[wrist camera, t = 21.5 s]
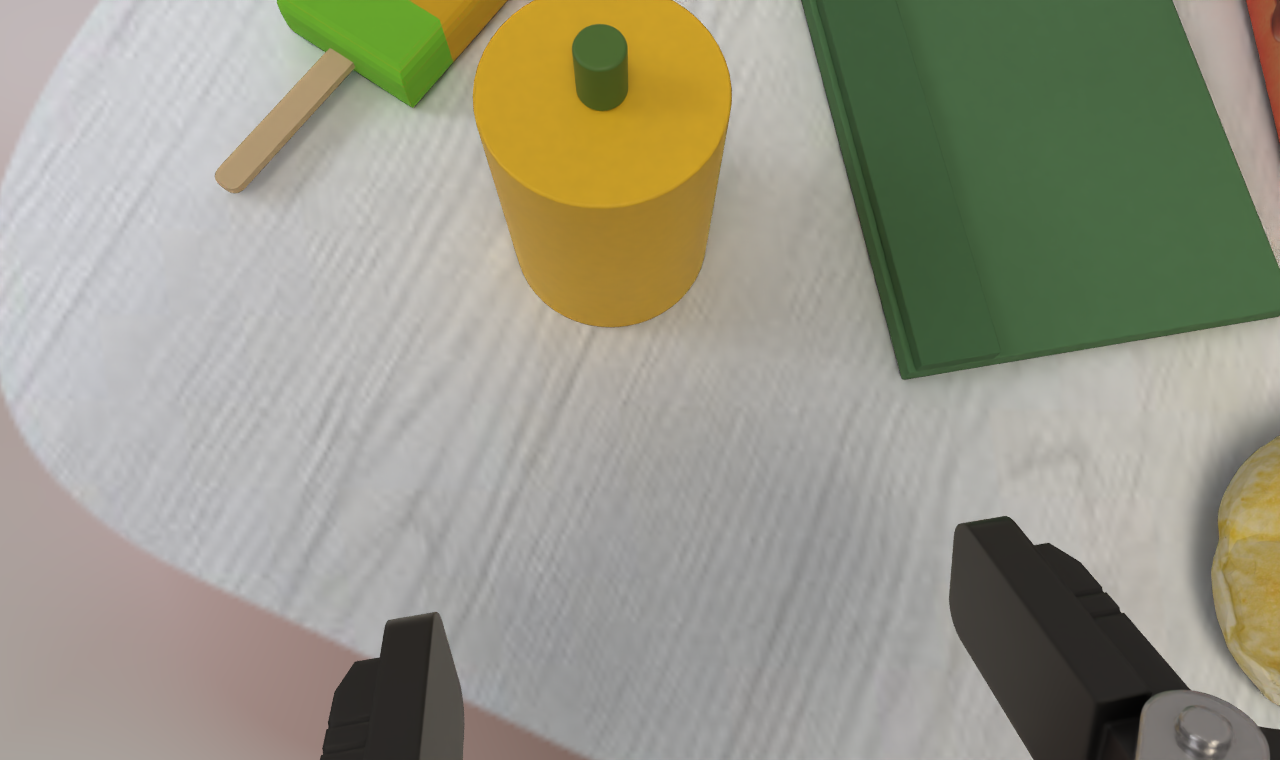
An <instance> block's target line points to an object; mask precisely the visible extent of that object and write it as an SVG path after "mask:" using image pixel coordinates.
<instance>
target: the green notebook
mask: <svg viewBox="0 0 1280 760" xmlns="http://www.w3.org/2000/svg"><path fill="white" fill-rule="evenodd" d="M802 4H803V8H804V11H805V15H806V19H807V23H808V27H809V30H810V34H811V38H812V42H813V45H814V49H815V53H816V57H817V61H818V64H819V68H820V72H821V76H822V79H823V83H824V87H825V91H826V94H827V98H828V102H829V106H830V110H831V113H832V117H833V121H834V125H835V128H836V132H837V136H838V140H839V144H840V147H841V151H842V155H843V159H844V162H845V166H846V170H847V174H848V177H849V181H850V185H851V189H852V193H853V196H854V200H855V204H856V208H857V211H858V215H859V219H860V223H861V227H862V230H863V234H864V238H865V242H866V245H867V249H868V253H869V257H870V260H871V264H872V268H873V272H874V276H875V279H876V283H877V287H878V291H879V294H880V298H881V302H882V306H883V310H884V313H885V317H886V321H887V325H888V328H889V332H890V336H891V340H892V343H893V347H894V351H895V355H896V359H897V362H898V366H899V370H900V374H901V377H902V379H904V380H905V379H911V378H917V377H923V376H929V375H935V374H941V373H947V372H953V371H959V370H965V369H971V368H977V367H983V366H989V365H994V364H1000V363H1006V362H1012V361H1018V360H1024V359H1030V358H1036V357H1042V356H1048V355H1054V354H1060V353H1066V352H1072V351H1078V350H1083V349H1089V348H1095V347H1101V346H1107V345H1113V344H1119V343H1125V342H1131V341H1137V340H1143V339H1149V338H1155V337H1161V336H1167V335H1173V334H1178V333H1184V332H1190V331H1196V330H1202V329H1208V328H1214V327H1220V326H1226V325H1232V324H1238V323H1244V322H1250V321H1256V320H1262V319H1267V318H1273V317H1278V316H1280V269H1279V266H1278V264H1277V261H1276V259H1275V256H1274V254H1273V251H1272V249H1271V246H1270V244H1269V241H1268V239H1267V236H1266V234H1265V231H1264V229H1263V226H1262V224H1261V221H1260V219H1259V216H1258V214H1257V211H1256V209H1255V206H1254V204H1253V201H1252V199H1251V196H1250V194H1249V191H1248V189H1247V186H1246V184H1245V181H1244V179H1243V176H1242V174H1241V171H1240V169H1239V166H1238V164H1237V161H1236V159H1235V156H1234V154H1233V151H1232V149H1231V146H1230V144H1229V141H1228V139H1227V136H1226V134H1225V131H1224V129H1223V126H1222V124H1221V121H1220V119H1219V116H1218V114H1217V111H1216V109H1215V106H1214V104H1213V101H1212V99H1211V96H1210V94H1209V91H1208V89H1207V86H1206V84H1205V81H1204V79H1203V76H1202V74H1201V71H1200V69H1199V66H1198V64H1197V61H1196V59H1195V56H1194V54H1193V51H1192V49H1191V46H1190V44H1189V41H1188V39H1187V36H1186V34H1185V31H1184V29H1183V26H1182V24H1181V21H1180V19H1179V16H1178V14H1177V11H1176V9H1175V6H1174V4H1173V1H1172V0H802Z"/></svg>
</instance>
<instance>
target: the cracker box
mask: <svg viewBox="0 0 1280 760" xmlns="http://www.w3.org/2000/svg"><path fill="white" fill-rule="evenodd" d="M1246 2H1247V7H1248V11H1249V15H1250V19H1251V23H1252V27H1253V32H1254V37H1255V41H1256V45H1257V49H1258V53H1259V56H1260V63H1261V66H1262V70H1263V74H1264V78H1265V83H1266V89H1267V92H1268V96H1269V100H1270V104H1271V108H1272V112H1273V116H1274V121H1275V125H1276V130H1277V134H1278V138H1279V143H1280V0H1246Z"/></svg>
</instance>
